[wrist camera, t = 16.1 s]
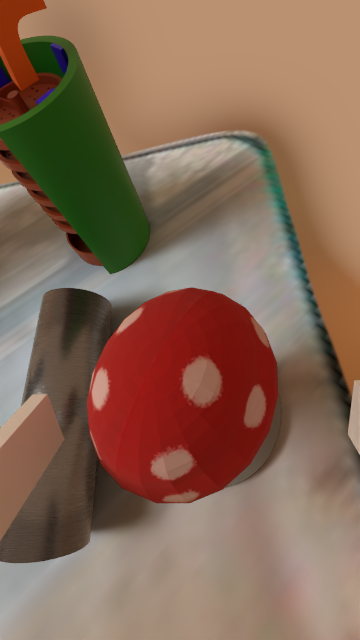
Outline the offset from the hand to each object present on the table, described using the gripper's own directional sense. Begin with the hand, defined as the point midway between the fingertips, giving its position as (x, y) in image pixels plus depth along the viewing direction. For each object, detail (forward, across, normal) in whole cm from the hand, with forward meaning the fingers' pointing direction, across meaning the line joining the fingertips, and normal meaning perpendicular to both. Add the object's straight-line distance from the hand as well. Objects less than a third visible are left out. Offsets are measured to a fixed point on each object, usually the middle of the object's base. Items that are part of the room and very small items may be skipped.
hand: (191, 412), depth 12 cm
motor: (+23, -10, +6) cm, 26 cm away
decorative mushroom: (+9, 0, -7) cm, 11 cm away
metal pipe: (+9, -11, -7) cm, 16 cm away
